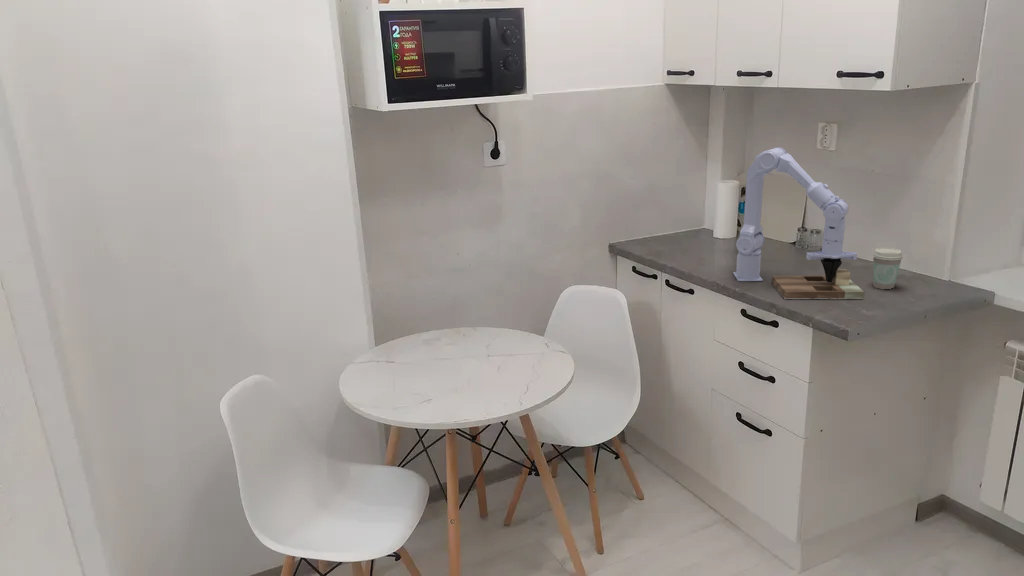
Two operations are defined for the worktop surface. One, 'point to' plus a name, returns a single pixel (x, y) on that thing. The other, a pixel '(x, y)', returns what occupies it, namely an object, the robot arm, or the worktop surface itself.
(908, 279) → the worktop surface
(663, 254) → the worktop surface
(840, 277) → the beech block
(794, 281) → the board
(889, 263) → the coffee cup
